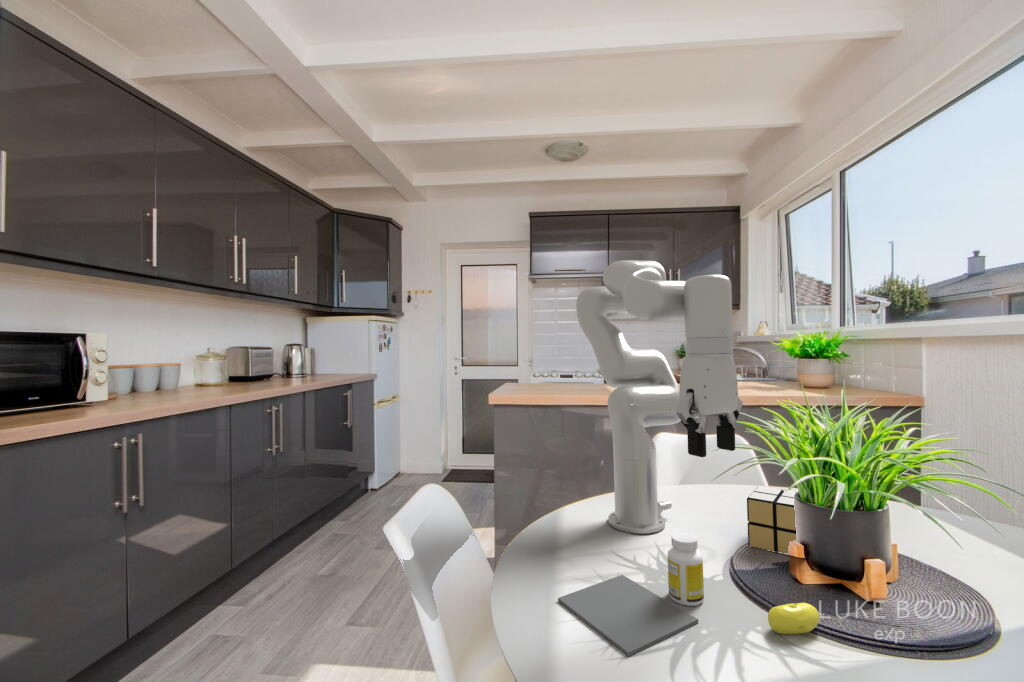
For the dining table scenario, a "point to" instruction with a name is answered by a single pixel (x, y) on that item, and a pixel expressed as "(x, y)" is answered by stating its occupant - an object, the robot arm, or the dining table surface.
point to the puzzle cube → (771, 519)
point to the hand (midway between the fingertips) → (711, 451)
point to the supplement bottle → (685, 570)
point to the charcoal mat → (627, 613)
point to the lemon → (793, 618)
